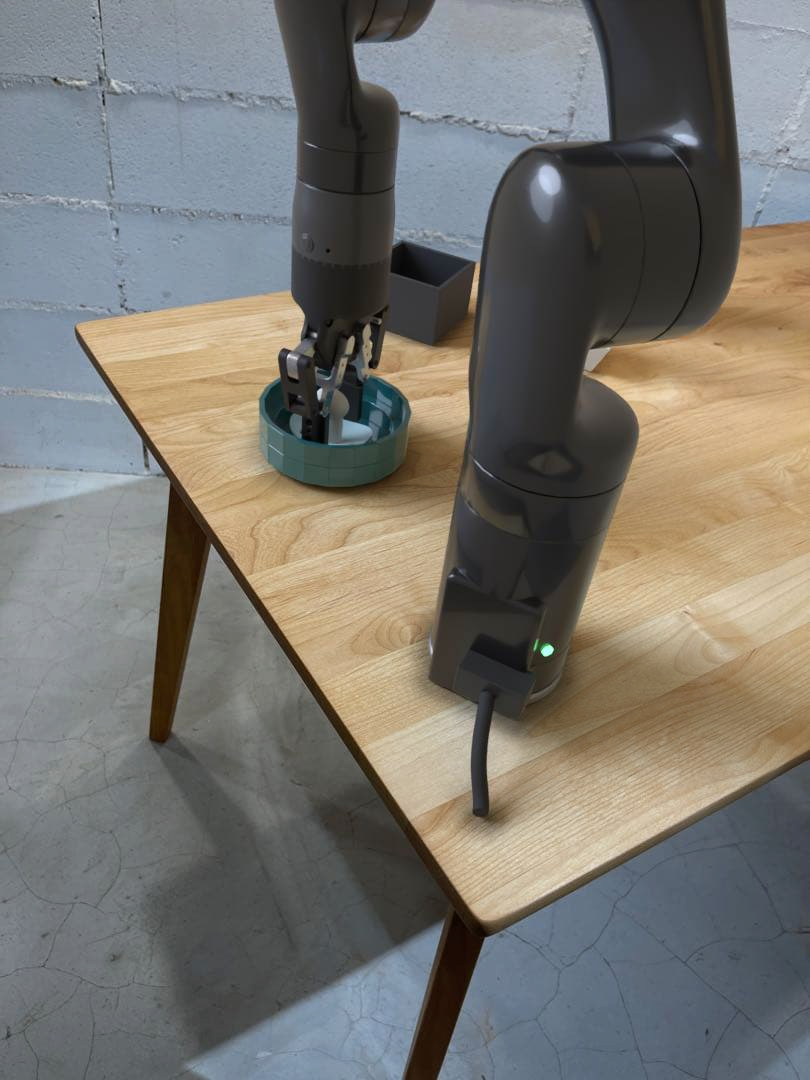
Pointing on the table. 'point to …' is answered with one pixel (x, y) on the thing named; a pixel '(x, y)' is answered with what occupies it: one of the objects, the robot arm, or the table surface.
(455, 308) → the bin
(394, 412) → the bowl
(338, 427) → the pacifier
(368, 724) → the table surface
